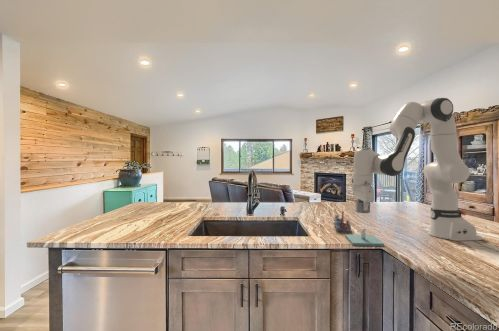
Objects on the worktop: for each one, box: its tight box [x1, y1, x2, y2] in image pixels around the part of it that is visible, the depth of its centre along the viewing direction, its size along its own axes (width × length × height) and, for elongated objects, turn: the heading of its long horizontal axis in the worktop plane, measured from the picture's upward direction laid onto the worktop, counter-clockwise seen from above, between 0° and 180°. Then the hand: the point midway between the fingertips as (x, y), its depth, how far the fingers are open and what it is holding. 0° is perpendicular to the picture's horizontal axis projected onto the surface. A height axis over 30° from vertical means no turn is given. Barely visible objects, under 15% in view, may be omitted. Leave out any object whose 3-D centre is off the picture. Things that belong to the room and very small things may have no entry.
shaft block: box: [344, 227, 385, 247], centre depth 128 cm, size 14×14×6 cm
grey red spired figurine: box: [332, 210, 352, 233], centre depth 149 cm, size 11×11×12 cm
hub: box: [355, 200, 371, 214], centre depth 128 cm, size 6×6×5 cm
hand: (362, 208), depth 128 cm, fingers closed on hub, 6 cm apart
